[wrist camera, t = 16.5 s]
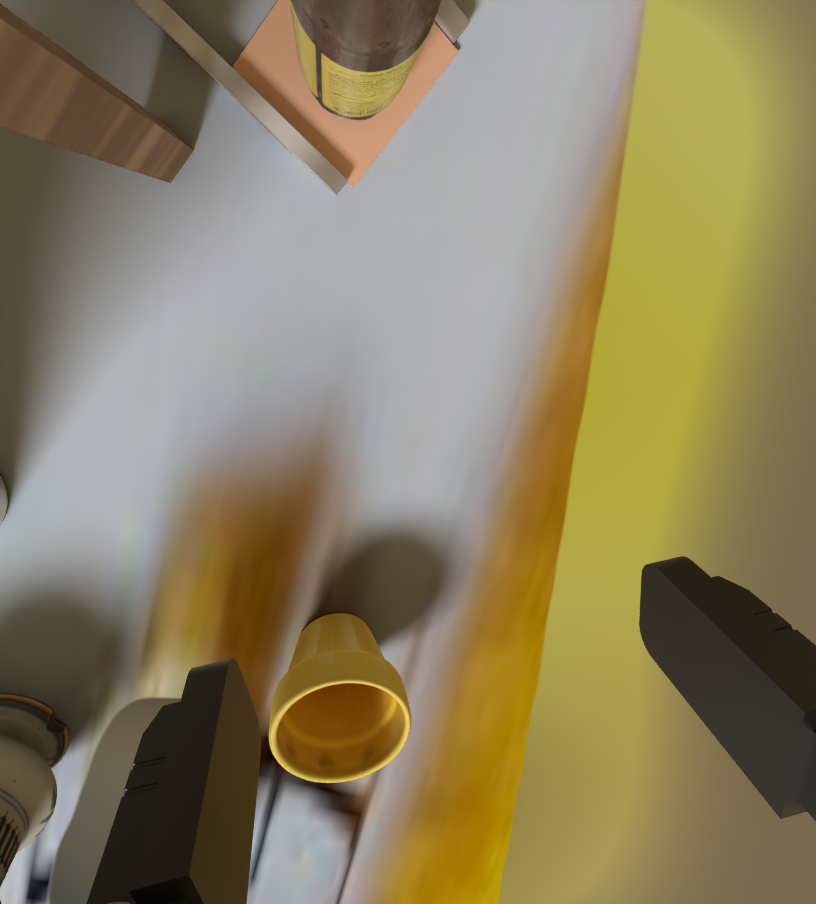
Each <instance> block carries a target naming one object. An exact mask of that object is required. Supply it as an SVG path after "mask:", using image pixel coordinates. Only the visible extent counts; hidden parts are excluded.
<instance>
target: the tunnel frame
mask: <svg viewBox="0 0 816 904" xmlns="http://www.w3.org/2000/svg"><path fill="white" fill-rule="evenodd" d="M132 1H133V2H134V3H135V4H136V5H137V6H138V7H139V8H140V9H141V10H142V11H143V12H144V13H145V14H146V15H147V16H148V17H150V18H151V19H152V20H153V21H154V22H155V23H156V24H157V25H158V26H159V27H160V28H161V29H162V30H163V31H164V32H165V33H166V34H167V35H168V36H169V37H171V38H172V39H173V40H174V41H175V42H176V43H177V44H178V45H179V46H180V47H181V48H182V49H183V50H184V51H185V52H186V53H187V54H188V55H189V56H191V57H192V58H193V59H194V60H195V61H196V62H197V63H198V64H199V65H200V66H201V67H202V68H203V69H204V70H205V71H206V72H207V73H208V74H209V75H210V76H212V77H213V78H214V79H215V80H216V81H217V82H218V83H219V84H220V85H221V86H222V87H223V88H224V89H225V90H226V91H227V92H228V93H229V94H230V95H231V96H233V97H234V98H235V99H236V100H237V101H238V102H239V103H240V104H241V105H242V106H243V107H244V108H245V109H246V110H247V111H248V112H249V113H250V114H251V115H252V116H254V117H255V118H256V119H257V120H258V121H259V122H260V123H261V124H262V125H263V126H264V127H265V128H266V129H267V130H268V131H269V132H270V133H271V134H272V135H274V136H275V137H276V138H277V139H278V140H279V141H280V142H281V143H282V144H283V145H284V146H285V147H286V148H287V149H288V150H289V151H290V152H291V153H292V154H293V155H295V156H296V157H297V158H298V159H299V160H300V161H301V162H302V163H303V164H304V165H305V166H306V167H307V168H308V169H309V170H310V171H311V172H312V173H313V174H314V175H316V176H317V177H318V178H319V179H320V180H321V181H322V182H323V183H324V184H325V185H326V186H327V187H328V188H329V189H330V190H331V191H332V192H333V193H334V194H335V195H337V194H338V193H339V191H340V190H341V189H342V187H343V186H344V185H345V184H346V182H347V181H348V180H347V179H346V178H345V177H344V176H343V175H342V174H341V173H340V172H339V171H338V170H337V169H336V168H335V167H334V166H332V165H331V164H330V163H329V162H328V161H327V160H326V159H325V158H324V157H323V156H322V155H321V154H320V153H319V152H318V151H317V150H316V149H315V148H314V147H313V146H312V145H311V144H310V143H309V142H308V141H307V140H306V139H305V138H304V137H303V136H302V135H301V134H300V133H299V132H298V131H297V130H296V129H295V128H294V127H292V126H291V125H290V124H289V123H288V122H287V121H286V120H285V119H284V118H283V117H282V116H281V115H280V114H279V113H278V112H277V111H276V110H275V109H274V108H273V107H272V106H271V105H270V104H269V103H268V102H267V101H266V100H265V99H264V98H263V97H262V96H261V95H260V94H259V93H258V92H257V91H256V90H255V89H254V88H252V87H251V86H250V85H249V84H248V83H247V82H246V81H245V80H244V79H243V78H242V77H241V76H240V75H239V74H238V73H237V72H236V71H235V70H234V69H233V68H232V67H231V66H230V65H229V64H228V63H227V62H226V61H225V60H224V59H223V58H222V57H221V56H220V55H219V54H218V53H217V52H216V51H215V50H214V49H212V48H211V47H210V46H209V45H208V44H207V43H206V42H205V41H204V40H203V39H202V38H201V37H200V36H199V35H198V34H197V33H196V32H195V31H194V30H193V29H192V28H191V27H190V26H189V25H188V24H187V23H186V22H185V21H184V20H183V19H182V18H181V17H180V16H179V15H178V14H177V13H176V12H175V11H174V10H172V9H171V8H170V7H169V6H168V5H167V4H166V3H165V2H164V1H163V0H132ZM469 23H470V21H469V19H468V18H467V17H466V16H465V14H464V13H463V12H462V11H461V9H460V8H459V7H458V6H457V4H456V3H455V2H454V1H453V0H442V1H441V5H440V8H439V11H438V14H437V17H436V19H435V24H436V25H437V26H438V27H439V28H440V30H441V31H442V32H443V33H444V35H445V36H446V37H447V38H448V39H449V41H450V42H451V43H452V44H454V42H455V41H456V40H457V39H458V37H459V36H460V35H461V33H462V32H463V31H464V30H465V28H466V27H467V26H468V24H469ZM0 127H2V128H5V129H8V130H11V131H14V132H17V133H20V134H23V135H26V136H29V137H32V138H35V139H38V140H42V141H45V142H48V143H51V144H54V145H57V146H60V147H63V148H66V149H69V150H72V151H75V152H78V153H81V154H84V155H87V156H90V157H93V158H96V159H99V160H102V161H105V162H108V163H111V164H114V165H117V166H120V167H123V168H126V169H129V170H133V171H136V172H139V173H142V174H145V175H148V176H151V177H154V178H157V179H160V180H163V181H166V182H169V183H171V182H172V180H173V179H174V178H175V176H176V175H177V173H178V172H179V170H180V169H181V167H182V166H183V165H184V163H185V162H186V160H187V159H188V157H189V156H190V155H191V153H192V152H193V149H192V148H191V147H190V146H189V145H188V144H186V143H185V142H184V141H183V140H182V139H181V138H180V137H178V136H177V135H176V134H175V133H174V132H173V131H172V130H170V129H169V128H168V127H167V126H166V125H165V124H164V123H163V122H161V121H160V120H159V119H158V118H157V117H155V116H154V115H153V114H151V113H150V112H149V111H147V110H146V109H144V108H143V107H142V106H140V105H139V104H138V103H136V102H135V101H133V100H132V99H131V98H129V97H128V96H127V95H125V94H124V93H122V92H121V91H120V90H118V89H117V88H116V87H114V86H113V85H111V84H110V83H109V82H107V81H106V80H105V79H103V78H102V77H100V76H99V75H98V74H96V73H95V72H93V71H92V70H91V69H89V68H88V67H87V66H85V65H84V64H82V63H81V62H80V61H78V60H77V59H76V58H74V57H73V56H71V55H70V54H69V53H67V52H66V51H65V50H63V49H62V48H60V47H59V46H58V45H56V44H55V43H54V42H52V41H51V40H49V39H48V38H47V37H45V36H44V35H43V34H41V33H40V32H38V31H37V30H36V29H34V28H33V27H32V26H30V25H29V24H27V23H26V22H25V21H23V20H22V19H21V18H19V17H18V16H16V15H15V14H14V13H12V12H11V11H10V10H8V9H7V8H5V7H4V6H3V5H1V4H0Z"/></svg>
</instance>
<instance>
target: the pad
mask: <svg viewBox="0 0 816 904" xmlns="http://www.w3.org/2000/svg"><path fill="white" fill-rule="evenodd" d="M457 53H458V50H457V49H456V48H455V47H454V45H453V44H452V43H451V42H450V41H449V39H448V38H447V37H446V36H445V35H444V33H443V32H442V31H441V30H440V28H439V27H438V26H437V25H436V24H435V22H434V24H433V26H432V28H431V30H430V33H429V35H428V37H427V39H426V41H425V43H424V45H423V47H422V49H421V50H420V52H419V54H418V56H417V58H416V60H415V62H414V64H413V66H412V68H411V71H410V73H409V75H408V77H407V79H406V81H405V83H404V85H403V87H402V88H401V90H400V92H399V93H398V95H397V96H396V97H395V99H394V100H393V101H392V102H391V103H390V104H389V105H388V106H387V107H386V108H384V109H383V110H382V111H380V112H379V113H377V114H376V115H374V116H373V117H372V118H370V119H366V120H351V119H346V118H342V117H339V116H337V115H335V114H332V113H330V112H328V111H327V110H325V109H324V108H323V107H322V106H321V105H320V104H319V102H318V101H317V100H316V98H315V97H314V96H313V94H312V92H311V90H310V89H309V87H308V85H307V83H306V81H305V79H304V76H303V74H302V72H301V69H300V65H299V61H298V56H297V49H296V42H295V35H294V28H293V22H292V15H291V8H290V1H289V0H278V1H277V3H276V4H275V5H274V7H273V8H272V10H271V11H270V13H269V14H268V16H267V17H266V18H265V20H264V21H263V23H262V24H261V26H260V27H259V29H258V30H257V31H256V33H255V34H254V36H253V37H252V39H251V40H250V42H249V43H248V45H247V46H246V47H245V49H244V50H243V52H242V53H241V55H240V56H239V58H238V59H237V60H236V62H235V63H234V65H233V66H232V68H233V69H234V70H235V71H236V72H237V73H238V74H239V75H240V76H241V77H242V78H243V79H244V80H245V81H246V82H247V83H248V84H249V85H250V86H251V87H252V88H254V89H255V90H256V91H257V92H258V93H259V94H260V95H261V96H262V97H263V98H264V99H265V100H266V101H267V102H268V103H269V104H270V105H271V106H272V107H273V108H274V109H275V110H276V111H277V112H278V113H279V114H280V115H281V116H282V117H283V118H284V119H285V120H286V121H287V122H288V123H289V124H290V125H291V126H292V127H294V128H295V129H296V130H297V131H298V132H299V133H300V134H301V135H302V136H303V137H304V138H305V139H306V140H307V141H308V142H309V143H310V144H311V145H312V146H313V147H314V148H315V149H316V150H317V151H318V152H319V153H320V154H321V155H322V156H323V157H324V158H325V159H326V160H327V161H328V162H329V163H330V164H331V165H332V166H334V167H335V168H336V169H337V170H338V171H339V172H340V173H341V174H342V175H343V176H344V177H345V178H346V179H347V180H348V182H349V183H350V184H351V185H352V186H353V187H354V186H355V185H356V183H357V182H358V181H359V179H360V178H361V177H362V175H363V174H364V173H365V172H366V170H367V169H368V168H369V166H370V165H371V164H372V163H373V161H374V160H375V159H376V157H377V156H378V155H379V154H380V152H381V151H382V150H383V148H384V147H385V146H386V145H387V143H388V142H389V141H390V139H391V138H392V137H393V136H394V134H395V133H396V132H397V130H398V129H399V128H400V127H401V125H402V124H403V123H404V121H405V120H406V119H407V118H408V116H409V115H410V114H411V112H412V111H413V110H414V109H415V107H416V106H417V105H418V103H419V102H420V101H421V100H422V98H423V97H424V96H425V94H426V93H427V92H428V91H429V89H430V88H431V87H432V85H433V84H434V83H435V82H436V80H437V79H438V78H439V76H440V75H441V74H442V73H443V71H444V70H445V69H446V67H447V66H448V65H449V64H450V62H451V61H452V60H453V58H454V57H455V56H456V55H457Z"/></svg>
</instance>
